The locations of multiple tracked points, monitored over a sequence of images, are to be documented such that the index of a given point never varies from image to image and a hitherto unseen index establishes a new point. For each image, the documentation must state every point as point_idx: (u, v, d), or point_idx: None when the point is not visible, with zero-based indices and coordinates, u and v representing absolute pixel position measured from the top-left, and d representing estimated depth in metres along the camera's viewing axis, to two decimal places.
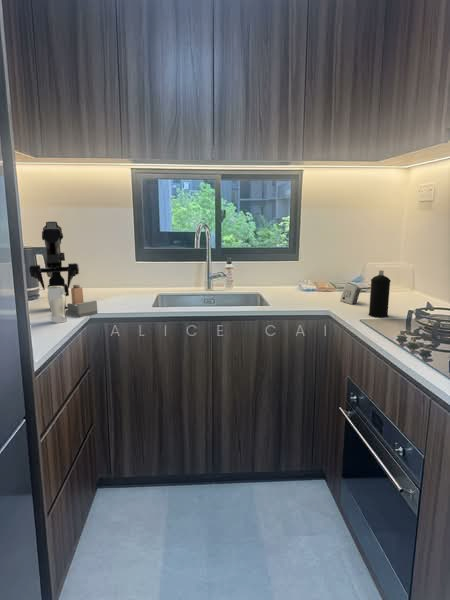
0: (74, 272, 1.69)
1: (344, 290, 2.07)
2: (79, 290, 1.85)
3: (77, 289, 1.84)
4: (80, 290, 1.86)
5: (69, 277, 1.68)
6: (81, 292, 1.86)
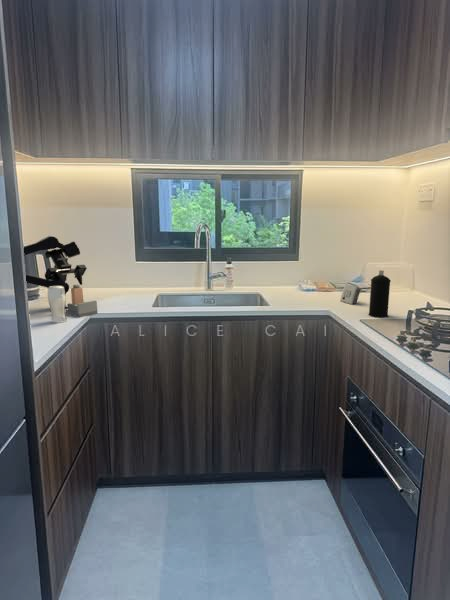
0: (53, 278, 1.84)
1: (344, 290, 2.07)
2: (79, 290, 1.85)
3: (77, 289, 1.84)
4: (80, 290, 1.86)
5: None
6: (81, 292, 1.86)
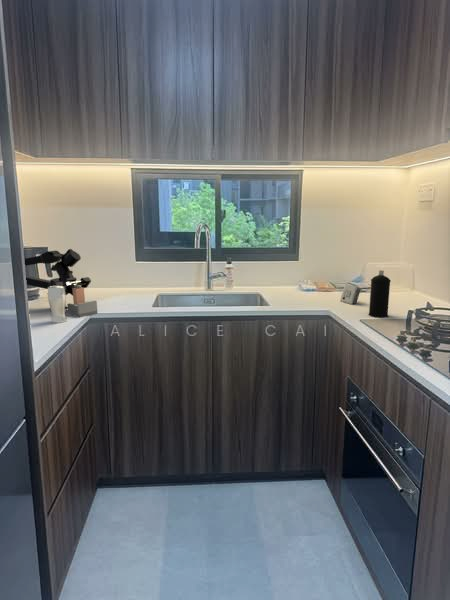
0: (65, 291, 1.88)
1: (344, 290, 2.07)
2: (80, 291, 1.84)
3: (79, 289, 1.83)
4: (82, 290, 1.85)
5: None
6: (83, 292, 1.85)
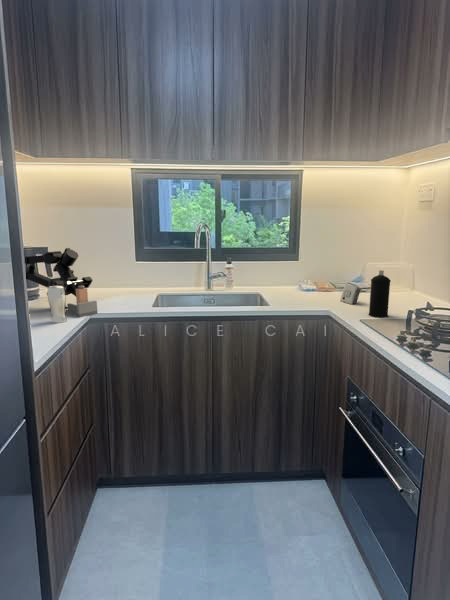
0: (66, 290, 1.85)
1: (344, 290, 2.07)
2: (83, 291, 1.83)
3: (82, 290, 1.82)
4: (85, 291, 1.83)
5: None
6: (86, 293, 1.84)
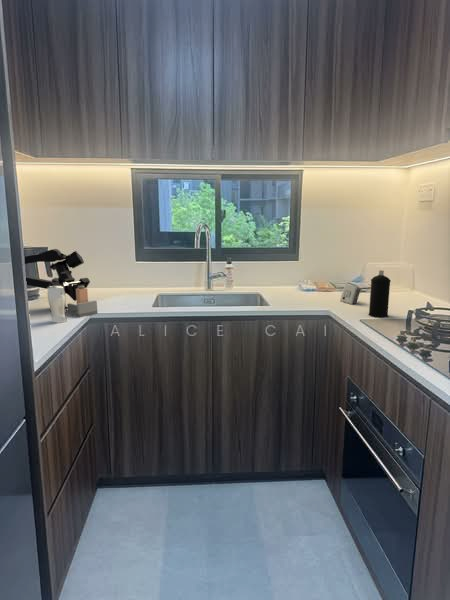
0: None
1: (344, 290, 2.07)
2: (83, 291, 1.82)
3: (82, 290, 1.82)
4: (85, 291, 1.83)
5: None
6: (86, 293, 1.84)
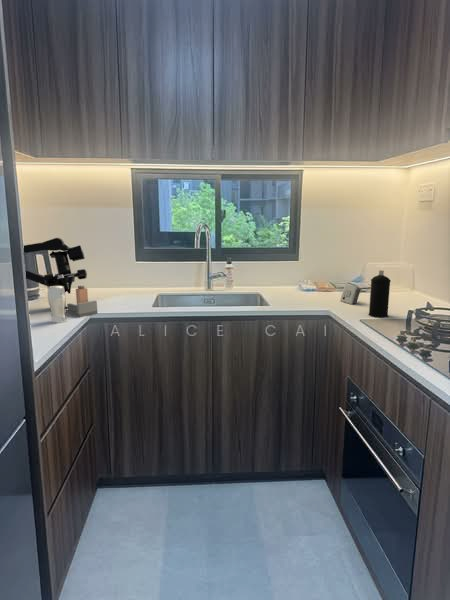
0: (59, 282, 1.89)
1: (344, 290, 2.07)
2: (83, 291, 1.82)
3: (82, 290, 1.82)
4: (85, 291, 1.83)
5: None
6: (86, 293, 1.84)
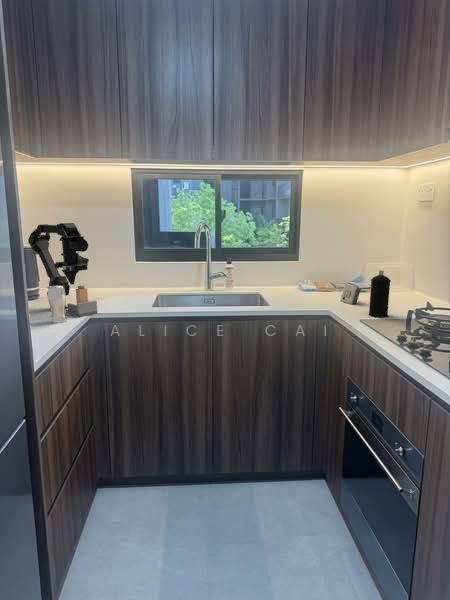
0: None
1: (344, 290, 2.07)
2: (83, 291, 1.82)
3: (82, 290, 1.82)
4: (85, 291, 1.83)
5: None
6: (86, 293, 1.84)
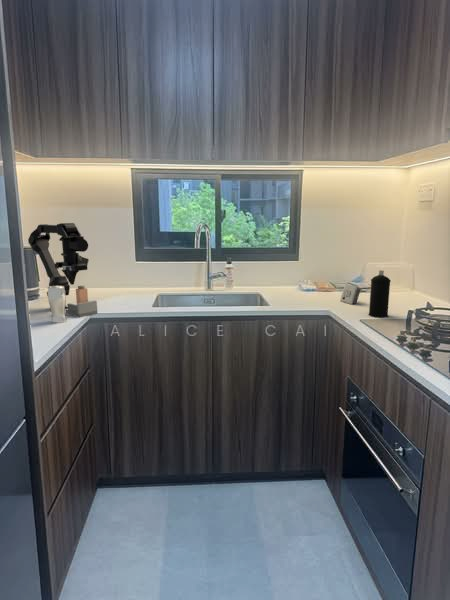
0: None
1: (344, 290, 2.07)
2: (83, 291, 1.82)
3: (82, 290, 1.82)
4: (85, 291, 1.83)
5: None
6: (86, 293, 1.84)
